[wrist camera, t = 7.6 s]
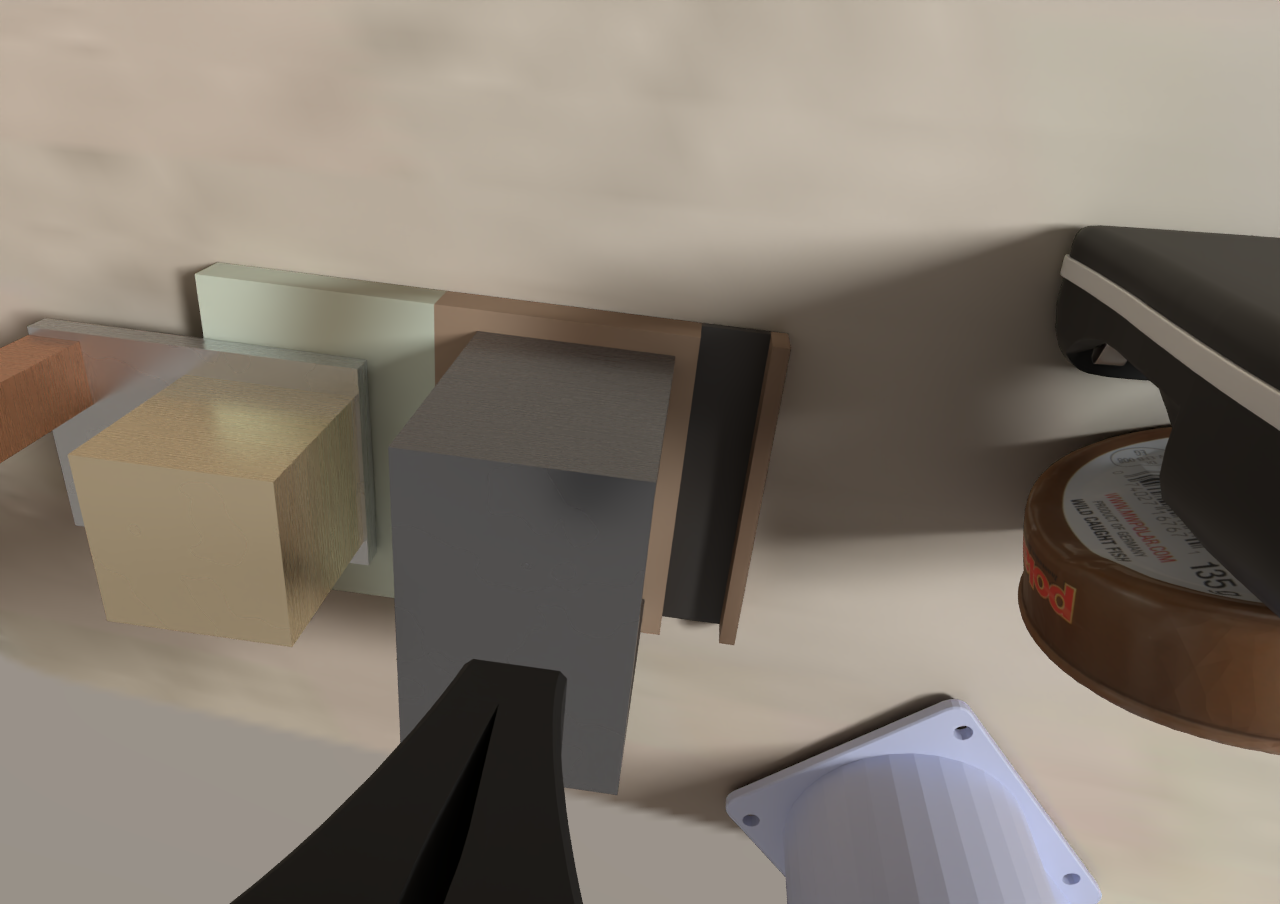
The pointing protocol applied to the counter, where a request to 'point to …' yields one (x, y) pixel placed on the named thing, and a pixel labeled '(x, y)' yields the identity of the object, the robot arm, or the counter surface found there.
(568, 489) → the grey box
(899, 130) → the counter surface
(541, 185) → the counter surface
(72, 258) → the counter surface
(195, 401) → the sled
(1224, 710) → the tin
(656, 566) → the track board
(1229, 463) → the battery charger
